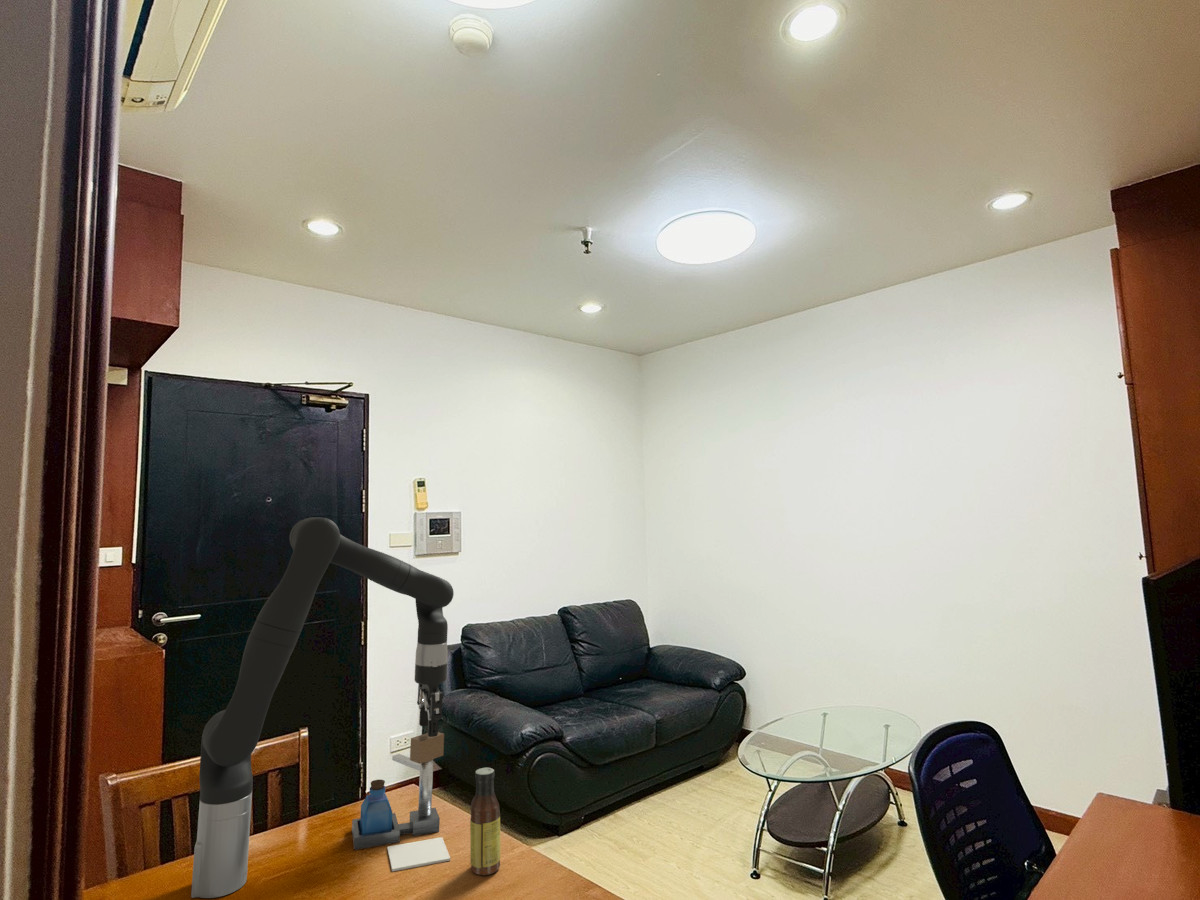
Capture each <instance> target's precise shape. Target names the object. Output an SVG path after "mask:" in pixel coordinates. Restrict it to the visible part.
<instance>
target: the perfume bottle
mask: <svg viewBox="0 0 1200 900" xmlns="http://www.w3.org/2000/svg"><path fill="white" fill-rule="evenodd" d="M385 783H386V781H385V780H384V779H374V780H372V781H370V787H369V794H367V795H366V796H365V798H364V800H363V801H362V802H361V805H360V817H359V818H360V831H359V835H364V834H370V833H376V832H382V831H388V830H392V813H393V810H392V807H391V803H390V801H389V798H388V796H387V794H386V785H385Z"/></svg>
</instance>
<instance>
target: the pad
mask: <svg viewBox="0 0 1200 900" xmlns="http://www.w3.org/2000/svg"><path fill="white" fill-rule="evenodd" d="M387 855H388V859H389V863H390V869H391V872H392V873H393V872H396V871H398V872H399V871H403V870H408V869H413V868H418V867H424V866H429V865H435V864H439V863H445V862H449V861H451V856H450V853H449V851H448V848H447V845H446V843H445V841H444V838H443V836H440V837H434V838H429V839H425V840H424V839H423V840H418V841H413V842H412V841H411V842H408V843H401V844H394V845H390V846H387Z"/></svg>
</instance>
